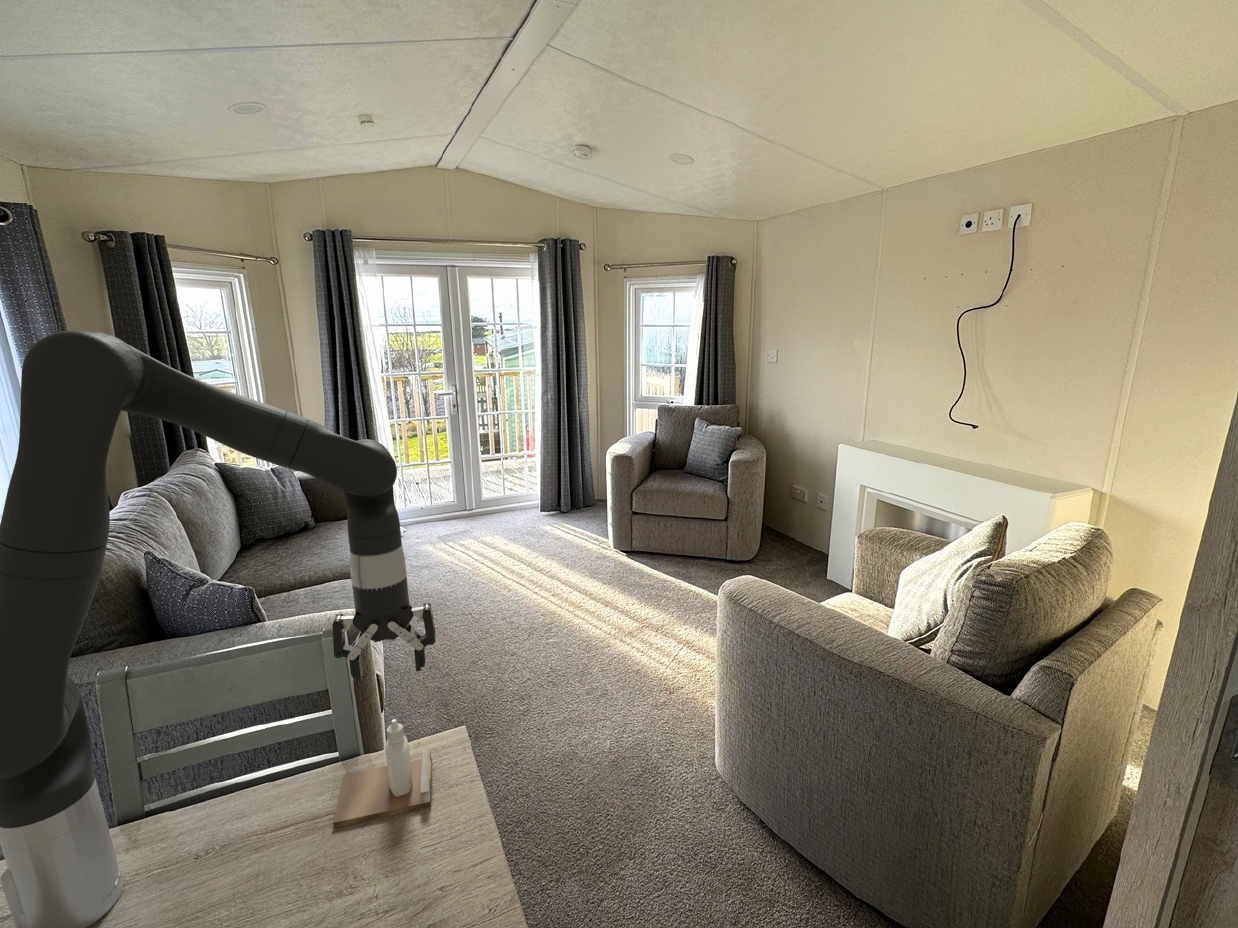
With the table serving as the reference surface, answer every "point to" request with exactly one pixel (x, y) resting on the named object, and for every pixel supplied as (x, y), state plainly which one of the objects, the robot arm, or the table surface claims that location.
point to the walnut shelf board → (382, 793)
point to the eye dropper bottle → (398, 760)
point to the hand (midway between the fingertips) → (389, 673)
